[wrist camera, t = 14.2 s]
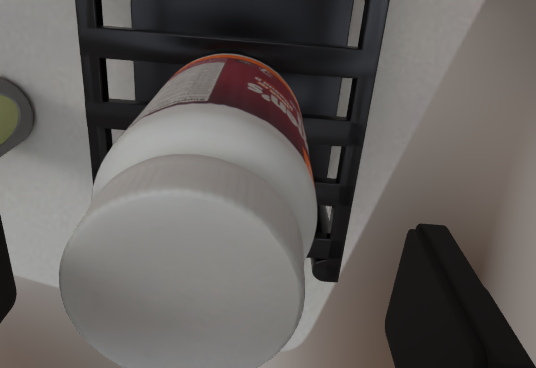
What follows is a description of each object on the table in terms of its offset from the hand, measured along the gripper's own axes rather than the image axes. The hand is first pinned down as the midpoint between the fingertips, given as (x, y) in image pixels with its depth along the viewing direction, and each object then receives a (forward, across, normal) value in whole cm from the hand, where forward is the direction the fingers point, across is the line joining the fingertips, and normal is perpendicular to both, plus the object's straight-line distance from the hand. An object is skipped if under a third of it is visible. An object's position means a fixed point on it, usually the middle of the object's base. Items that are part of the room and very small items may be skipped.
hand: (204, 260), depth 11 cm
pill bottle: (+10, 0, 0) cm, 10 cm away
